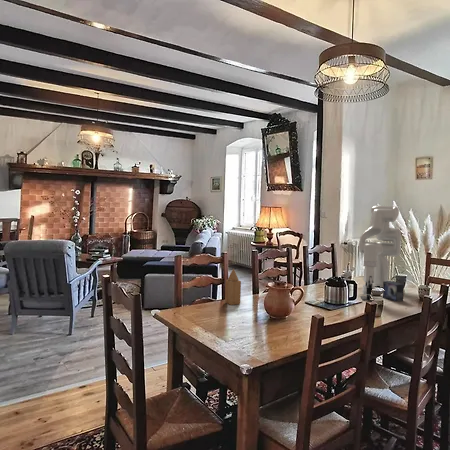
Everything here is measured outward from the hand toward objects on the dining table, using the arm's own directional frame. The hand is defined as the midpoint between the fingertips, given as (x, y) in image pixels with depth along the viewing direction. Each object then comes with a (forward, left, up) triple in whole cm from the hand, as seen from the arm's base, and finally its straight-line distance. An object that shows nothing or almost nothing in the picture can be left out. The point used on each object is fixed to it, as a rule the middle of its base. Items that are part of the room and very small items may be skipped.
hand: (368, 292), depth 234 cm
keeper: (0, 0, -4) cm, 4 cm away
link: (0, 0, -1) cm, 1 cm away
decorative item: (+35, -78, -4) cm, 86 cm away
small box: (-5, +15, -4) cm, 16 cm away
